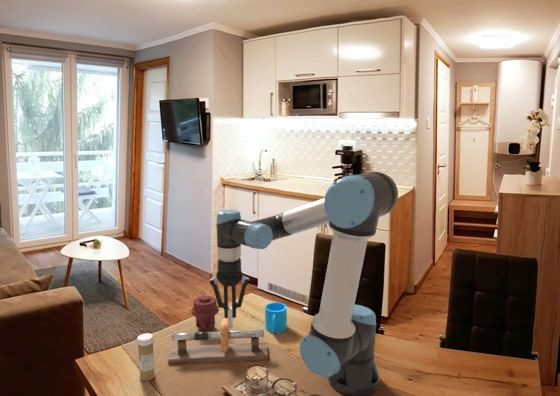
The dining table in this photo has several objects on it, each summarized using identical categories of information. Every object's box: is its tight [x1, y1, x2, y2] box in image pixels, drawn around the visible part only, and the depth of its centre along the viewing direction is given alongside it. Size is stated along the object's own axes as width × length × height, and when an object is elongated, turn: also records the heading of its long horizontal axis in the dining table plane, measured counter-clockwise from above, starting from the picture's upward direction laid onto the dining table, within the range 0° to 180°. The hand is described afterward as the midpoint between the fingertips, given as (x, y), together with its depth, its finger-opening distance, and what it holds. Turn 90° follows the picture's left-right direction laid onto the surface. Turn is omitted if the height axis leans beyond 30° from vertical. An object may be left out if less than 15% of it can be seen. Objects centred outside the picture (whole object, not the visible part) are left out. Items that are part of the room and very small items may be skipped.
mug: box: [264, 302, 288, 334], centre depth 161 cm, size 12×8×8 cm
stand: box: [167, 338, 269, 365], centre depth 144 cm, size 8×32×6 cm, turn 95°
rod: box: [171, 329, 265, 342], centre depth 143 cm, size 30×2×2 cm, turn 95°
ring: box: [219, 317, 230, 353], centre depth 143 cm, size 8×2×8 cm, turn 5°
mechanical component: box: [191, 295, 220, 332], centre depth 161 cm, size 12×10×10 cm
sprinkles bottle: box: [136, 332, 156, 382], centre depth 131 cm, size 5×5×13 cm
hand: (230, 326), depth 143 cm, fingers closed
